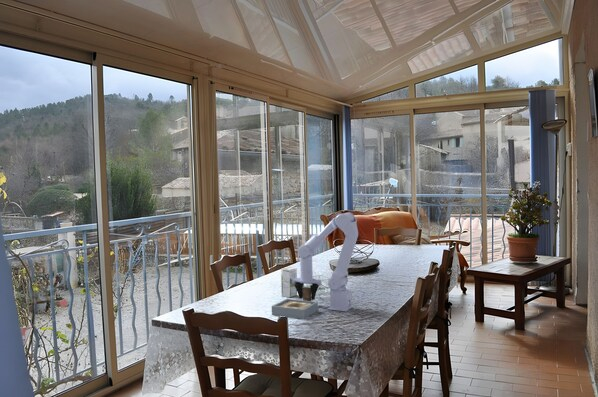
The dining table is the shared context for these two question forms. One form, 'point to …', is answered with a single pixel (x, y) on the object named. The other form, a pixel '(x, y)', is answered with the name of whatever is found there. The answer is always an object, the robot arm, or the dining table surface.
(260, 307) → the dining table surface
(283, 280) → the syrup box
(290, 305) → the bore plate
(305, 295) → the peg
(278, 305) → the open box
